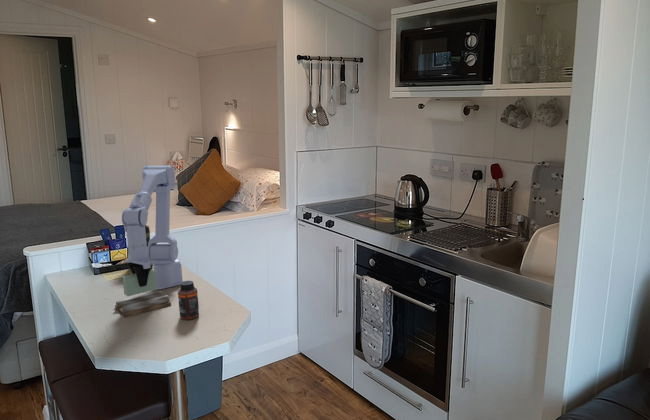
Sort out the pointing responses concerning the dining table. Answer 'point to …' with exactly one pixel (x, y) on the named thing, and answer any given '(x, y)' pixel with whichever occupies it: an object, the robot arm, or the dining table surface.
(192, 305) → the supplement bottle
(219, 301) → the dining table surface
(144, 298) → the brown shallow piece
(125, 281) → the pale green block
